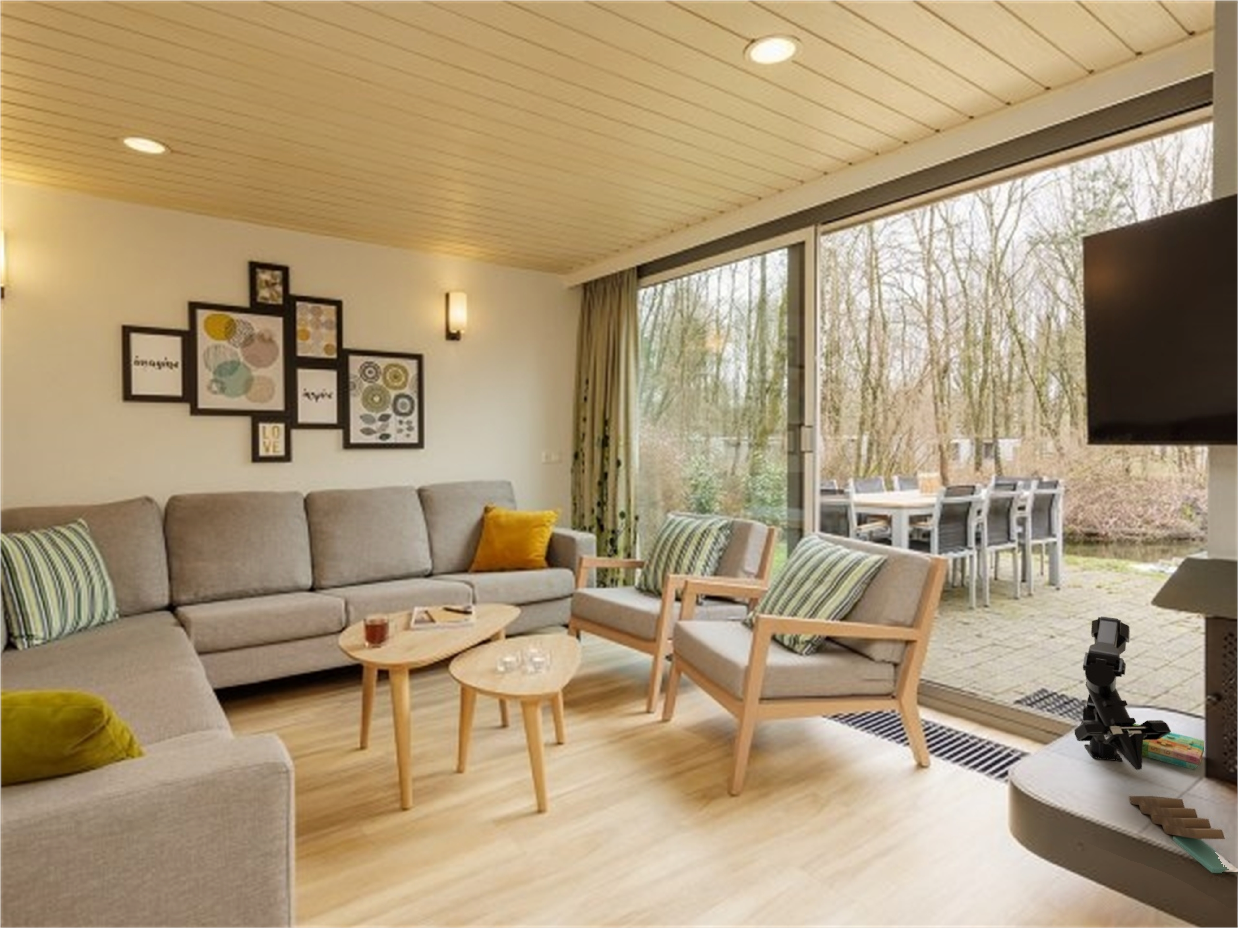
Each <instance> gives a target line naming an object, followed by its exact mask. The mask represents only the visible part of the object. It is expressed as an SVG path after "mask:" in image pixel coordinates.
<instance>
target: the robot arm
mask: <svg viewBox="0 0 1238 928" xmlns="http://www.w3.org/2000/svg"><path fill="white" fill-rule="evenodd" d="M1090 631H1091V632H1090V635H1091V637H1092V638H1094V640H1093V641H1094V644H1090V645H1089V648H1088V652H1085V653H1084V658H1083V663H1082V664H1083V665H1082V670H1083V671H1084V674H1085V675H1084V676H1085V687H1086V689H1087V691H1088V693H1089V694H1088V697H1087V701H1086V702H1087V703H1086V705H1083V708H1082V709H1083V711H1082V721H1081V723H1080V724H1079V725H1077V726H1076V727H1075V729H1074V735H1075V739H1076V741H1077V742H1089V744H1087V743H1085V744H1084V745H1083V747H1084V748H1085V749H1086V751H1087V752H1088V753H1089V755H1090V756H1091V757H1092V758H1093V759H1097V760H1098V759H1099V760H1100V759H1102V760H1111V761H1119V762H1120V761H1121V762H1122V761H1123V757H1124V758H1125V759H1126V761H1127V762H1128V764H1130V765H1131V766H1132V767H1133V768H1134V769H1135V770H1136V771H1141V770H1142V769H1143V756H1142V746H1143V740H1157V739H1160V738H1162V737H1163V736H1165V735H1166V734H1168V733H1170V732H1171V733H1172V731H1171V729H1170V727H1169V725H1168V723H1167V722H1165V721H1164V720H1162V719H1158V720H1152V719H1151V720H1145V721H1143V722H1142V723H1141V724H1138V725H1139V726H1134V725H1133V724H1137V721H1136V718H1135V717H1130V714H1129V713H1128V711H1127V708H1126V706H1128V702H1127V701H1126V700H1122V698H1121V696H1120V694H1119V692H1118V690H1117V688H1116V687H1117V686H1116V684H1117V678H1118V677H1119V678H1122V676H1125V675H1126V667H1127V664H1126V662H1125V660H1124V658H1122V657H1121V655H1122V654H1123V653H1124V652H1125V651H1126V650H1127V649H1126V648H1127V643H1128V644H1129V643H1130V637H1131V636H1130V634H1131V633H1130V626H1129V625H1128V624H1127V623H1123V622H1122V620H1121V619H1118V618H1115V617H1109V616H1098V617H1097V618H1096V619H1094V620H1091V629H1090ZM1127 730H1129V731H1127ZM1120 754H1121V755H1122V756H1123V757H1122V756H1121V755H1120Z"/></svg>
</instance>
